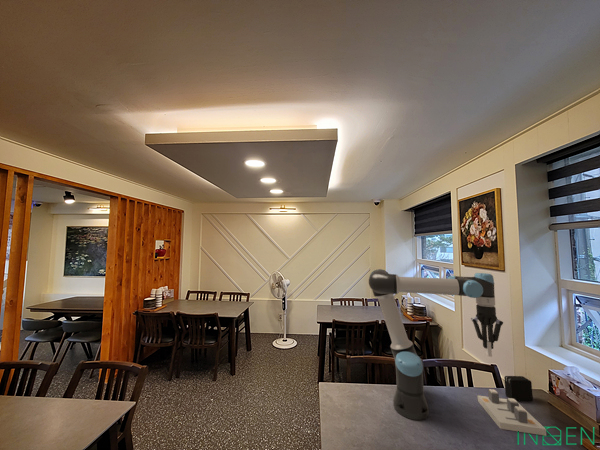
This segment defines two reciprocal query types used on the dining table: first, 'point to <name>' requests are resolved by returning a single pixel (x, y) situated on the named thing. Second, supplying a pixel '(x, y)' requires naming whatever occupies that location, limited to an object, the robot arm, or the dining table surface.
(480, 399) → the switch unit
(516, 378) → the electronic device
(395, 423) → the dining table surface
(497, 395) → the slider far
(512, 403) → the slider mid
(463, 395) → the dining table surface
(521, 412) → the slider near
